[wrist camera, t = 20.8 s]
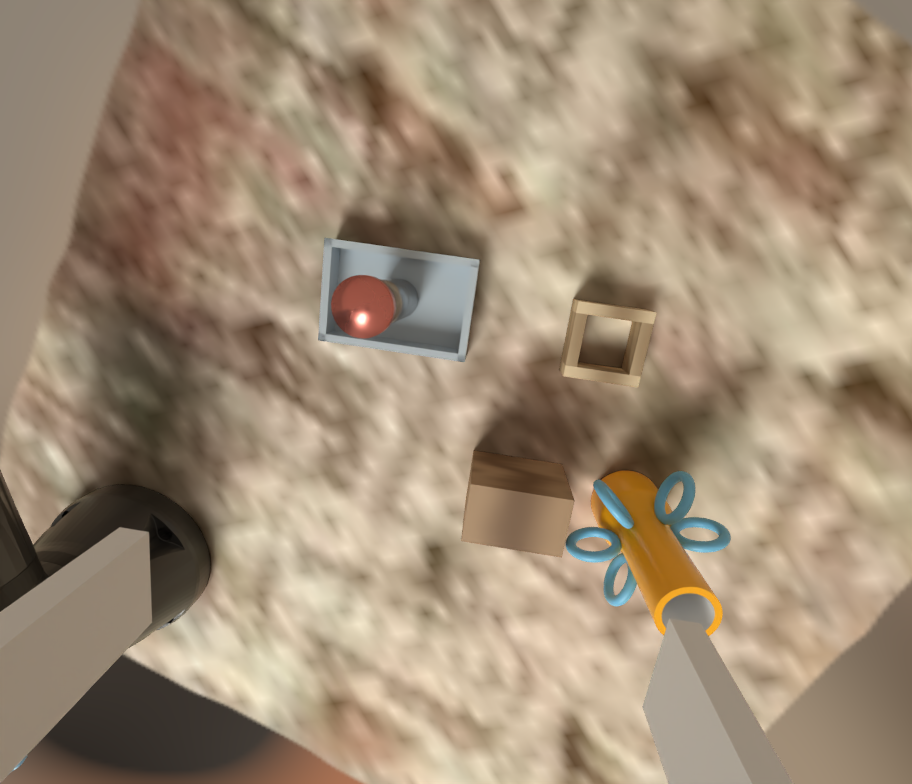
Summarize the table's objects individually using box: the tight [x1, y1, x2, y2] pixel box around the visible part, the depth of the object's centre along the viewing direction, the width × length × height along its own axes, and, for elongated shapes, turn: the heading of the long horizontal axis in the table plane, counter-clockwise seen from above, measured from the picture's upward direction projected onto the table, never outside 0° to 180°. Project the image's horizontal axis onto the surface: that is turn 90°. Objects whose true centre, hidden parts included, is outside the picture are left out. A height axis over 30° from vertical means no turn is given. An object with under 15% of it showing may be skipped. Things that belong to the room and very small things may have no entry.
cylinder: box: [566, 470, 731, 636], centre depth 37 cm, size 12×10×15 cm
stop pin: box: [331, 275, 418, 338], centre depth 35 cm, size 4×4×11 cm
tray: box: [318, 238, 480, 362], centre depth 39 cm, size 12×8×3 cm, turn 82°
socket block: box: [559, 299, 657, 387], centre depth 39 cm, size 6×6×2 cm
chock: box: [461, 450, 574, 557], centre depth 41 cm, size 8×5×7 cm, turn 82°
